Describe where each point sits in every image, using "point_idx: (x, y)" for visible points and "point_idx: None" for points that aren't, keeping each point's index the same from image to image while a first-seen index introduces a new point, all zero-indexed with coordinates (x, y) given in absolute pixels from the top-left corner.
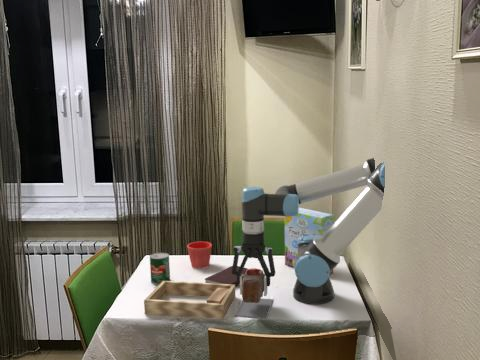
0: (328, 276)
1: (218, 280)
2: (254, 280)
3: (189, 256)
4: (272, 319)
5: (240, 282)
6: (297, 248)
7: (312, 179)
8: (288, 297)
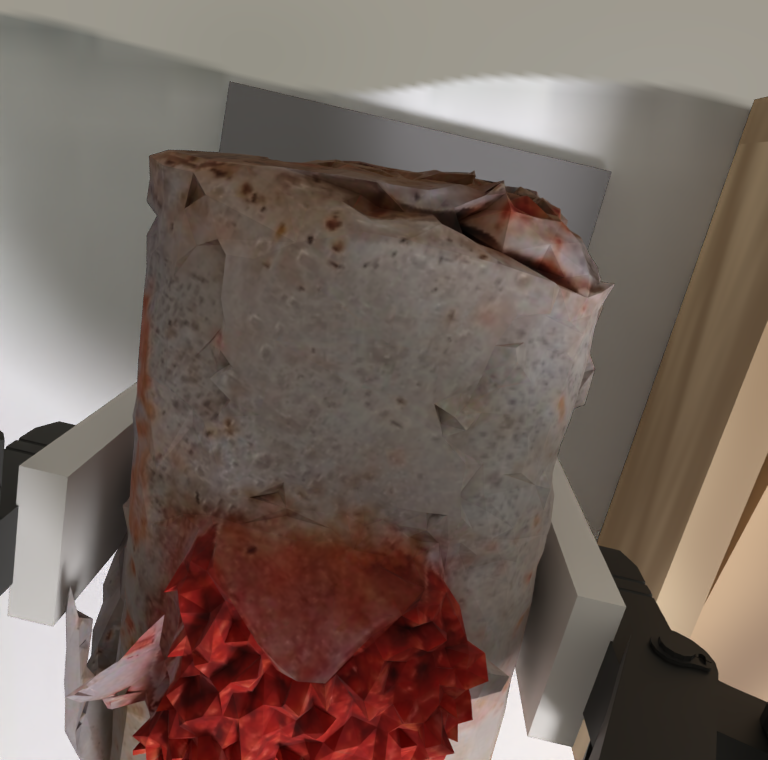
0: None
1: None
2: (275, 182)
3: None
4: (162, 56)
5: (583, 535)
6: None
7: None
8: (5, 614)
